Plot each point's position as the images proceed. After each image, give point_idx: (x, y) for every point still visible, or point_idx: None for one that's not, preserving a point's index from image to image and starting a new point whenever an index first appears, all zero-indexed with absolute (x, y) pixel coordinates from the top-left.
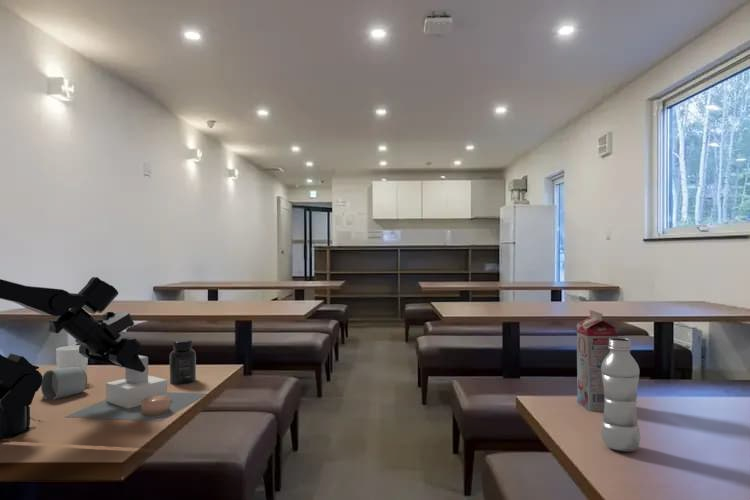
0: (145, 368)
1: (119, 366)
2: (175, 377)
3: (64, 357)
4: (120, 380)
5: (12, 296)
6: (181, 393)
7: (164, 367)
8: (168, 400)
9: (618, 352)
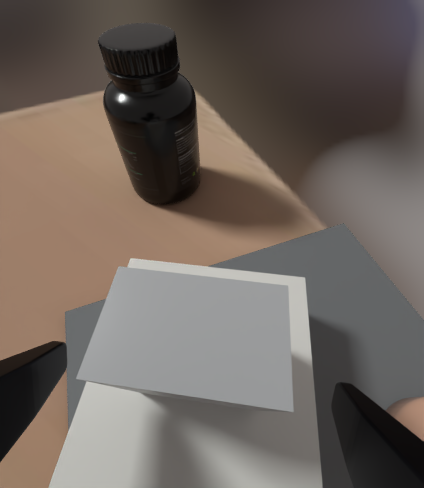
0: (350, 383)
1: (48, 393)
2: (169, 186)
3: None
4: (98, 394)
5: None
6: (275, 251)
7: (8, 121)
8: None
9: None
